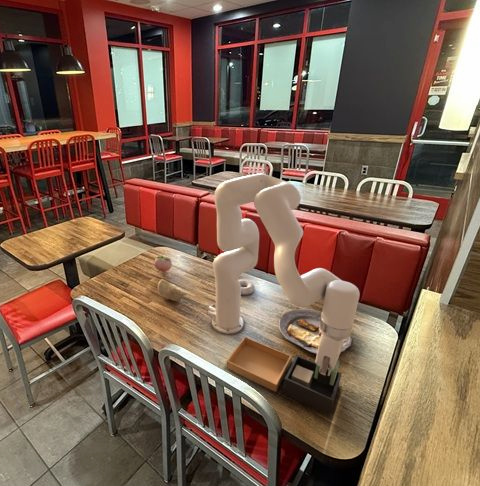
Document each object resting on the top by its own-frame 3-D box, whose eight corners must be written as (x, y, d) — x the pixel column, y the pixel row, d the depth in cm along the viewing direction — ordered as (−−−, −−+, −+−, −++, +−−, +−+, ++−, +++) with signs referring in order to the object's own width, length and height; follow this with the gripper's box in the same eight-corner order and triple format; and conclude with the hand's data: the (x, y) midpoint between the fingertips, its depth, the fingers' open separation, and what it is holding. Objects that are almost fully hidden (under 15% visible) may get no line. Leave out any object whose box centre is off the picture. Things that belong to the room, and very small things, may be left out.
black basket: (282, 393, 94) (284, 378, 91) (294, 369, 102) (296, 354, 100) (329, 416, 87) (333, 400, 84) (338, 388, 95) (341, 373, 92)
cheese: (157, 293, 149) (149, 290, 135) (164, 279, 150) (157, 275, 136) (185, 308, 145) (179, 307, 131) (192, 294, 146) (187, 291, 132)
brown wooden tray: (226, 368, 104) (226, 361, 102) (244, 343, 114) (244, 336, 112) (275, 392, 95) (276, 385, 93) (290, 363, 105) (291, 355, 103)
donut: (232, 295, 142) (254, 296, 140) (232, 289, 140) (254, 290, 138) (233, 283, 151) (254, 284, 149) (233, 277, 149) (254, 278, 147)
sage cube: (314, 377, 89) (316, 364, 87) (318, 366, 92) (321, 353, 90) (332, 385, 86) (335, 372, 84) (336, 373, 90) (339, 360, 88)
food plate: (360, 333, 116) (362, 326, 114) (335, 370, 101) (337, 362, 100) (297, 306, 132) (297, 299, 131) (267, 334, 118) (268, 327, 116)
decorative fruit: (174, 268, 166) (173, 252, 162) (169, 276, 159) (168, 259, 155) (158, 266, 169) (157, 250, 165) (152, 274, 162) (151, 257, 158)
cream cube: (289, 387, 96) (291, 375, 94) (295, 376, 99) (296, 364, 97) (306, 394, 93) (308, 383, 91) (311, 383, 97) (313, 371, 94)
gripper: (328, 304, 90) (319, 352, 98) (311, 339, 78) (303, 390, 85) (357, 313, 86) (345, 362, 93) (344, 351, 73) (332, 404, 81)
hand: (325, 375), depth 89 cm, fingers closed on sage cube, 5 cm apart
